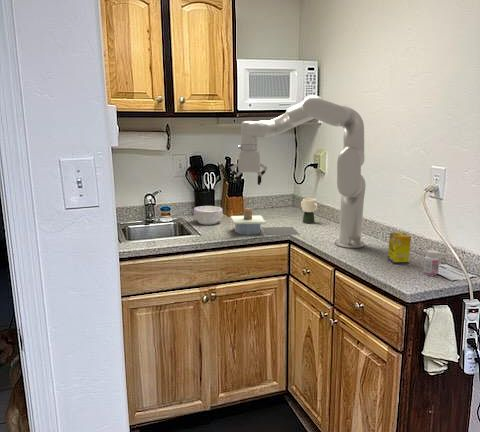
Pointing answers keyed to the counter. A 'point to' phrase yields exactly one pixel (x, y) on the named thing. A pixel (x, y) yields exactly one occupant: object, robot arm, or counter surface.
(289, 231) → the mat
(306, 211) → the character mug
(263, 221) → the lid
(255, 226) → the bowl
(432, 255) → the pill bottle
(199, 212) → the pale pink bowl
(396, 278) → the counter surface
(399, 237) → the supplement box
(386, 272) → the counter surface
